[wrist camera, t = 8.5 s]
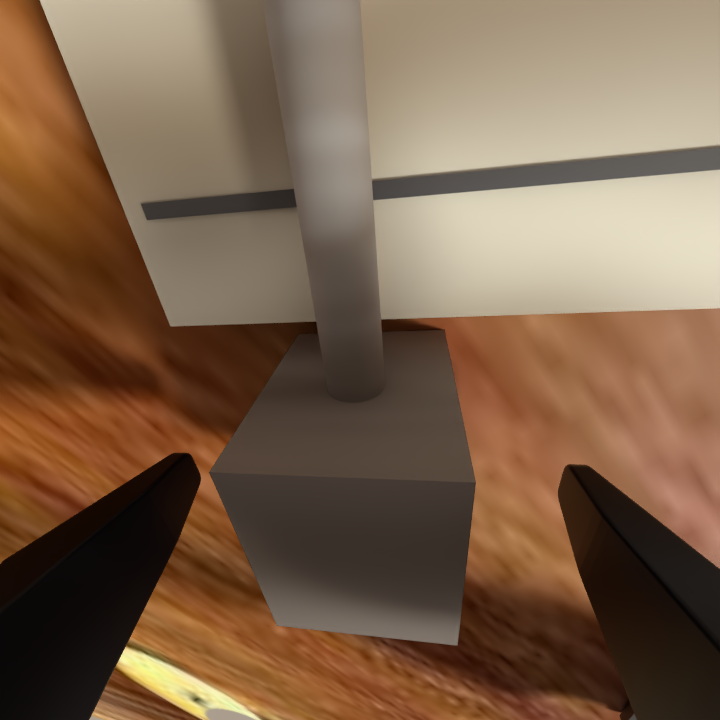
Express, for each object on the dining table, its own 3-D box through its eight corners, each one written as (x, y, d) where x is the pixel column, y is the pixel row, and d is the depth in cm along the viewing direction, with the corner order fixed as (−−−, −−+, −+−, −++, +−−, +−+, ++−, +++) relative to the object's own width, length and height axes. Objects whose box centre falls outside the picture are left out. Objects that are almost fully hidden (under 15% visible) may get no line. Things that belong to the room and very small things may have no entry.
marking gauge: (439, 463, 11) (457, 645, 7) (324, 460, 12) (276, 625, 8) (454, 19, 6) (567, -331, 2) (243, 55, 7) (-61, -138, 2)
